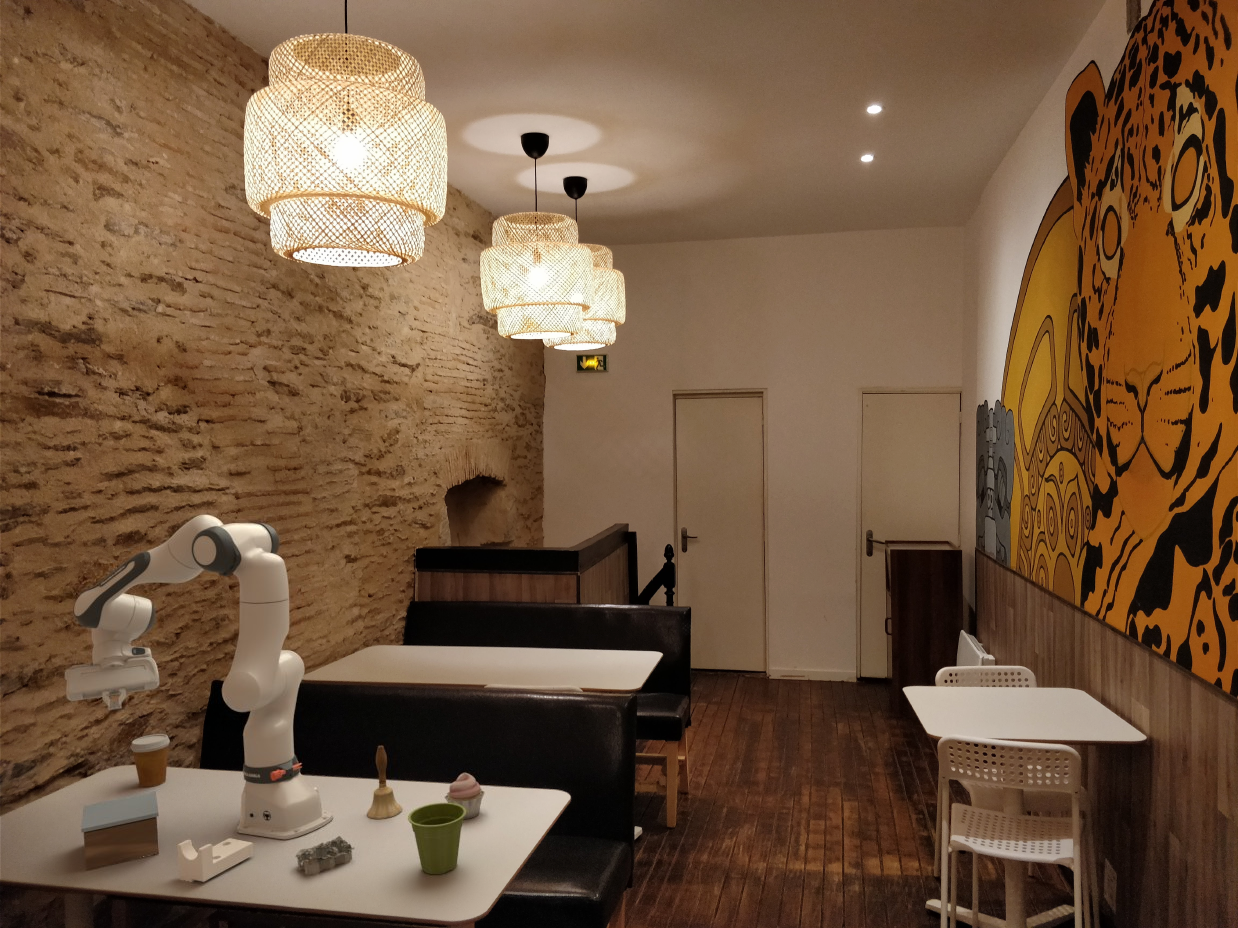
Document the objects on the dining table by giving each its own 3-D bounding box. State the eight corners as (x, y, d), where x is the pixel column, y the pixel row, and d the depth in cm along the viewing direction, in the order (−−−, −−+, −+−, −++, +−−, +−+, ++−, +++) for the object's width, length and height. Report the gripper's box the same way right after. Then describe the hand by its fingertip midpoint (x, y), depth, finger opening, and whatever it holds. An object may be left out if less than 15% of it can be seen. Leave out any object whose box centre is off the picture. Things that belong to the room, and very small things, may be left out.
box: (88, 843, 211) (85, 808, 211) (156, 828, 218) (154, 795, 218) (86, 870, 197) (83, 833, 197) (158, 853, 204) (156, 817, 204)
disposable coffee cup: (179, 779, 251) (176, 736, 250) (145, 791, 243) (142, 746, 242) (159, 774, 256) (156, 731, 256) (125, 786, 248) (122, 741, 247)
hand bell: (359, 814, 220) (355, 748, 220) (387, 802, 227) (383, 738, 227) (381, 821, 215) (377, 754, 215) (409, 809, 222) (405, 744, 222)
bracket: (203, 886, 188) (201, 849, 188) (179, 880, 191) (177, 844, 191) (253, 858, 199) (251, 824, 199) (230, 853, 203) (228, 819, 202)
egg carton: (307, 879, 189) (306, 859, 189) (293, 867, 194) (292, 848, 194) (356, 861, 196) (355, 842, 195) (342, 850, 201) (341, 832, 201)
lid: (83, 808, 211) (83, 805, 211) (155, 794, 218) (155, 790, 218) (81, 832, 196) (81, 828, 196) (158, 815, 204) (158, 812, 204)
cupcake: (459, 825, 211) (457, 782, 211) (438, 814, 218) (436, 773, 218) (493, 813, 217) (491, 771, 217) (472, 803, 224) (470, 762, 224)
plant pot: (417, 885, 183) (414, 829, 182) (405, 862, 194) (403, 809, 193) (475, 872, 187) (472, 817, 187) (461, 849, 198) (458, 797, 198)
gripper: (63, 659, 225) (64, 708, 217) (156, 647, 235) (160, 693, 226) (65, 673, 229) (66, 722, 221) (157, 661, 239) (161, 707, 231)
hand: (114, 707), depth 224 cm, fingers closed
